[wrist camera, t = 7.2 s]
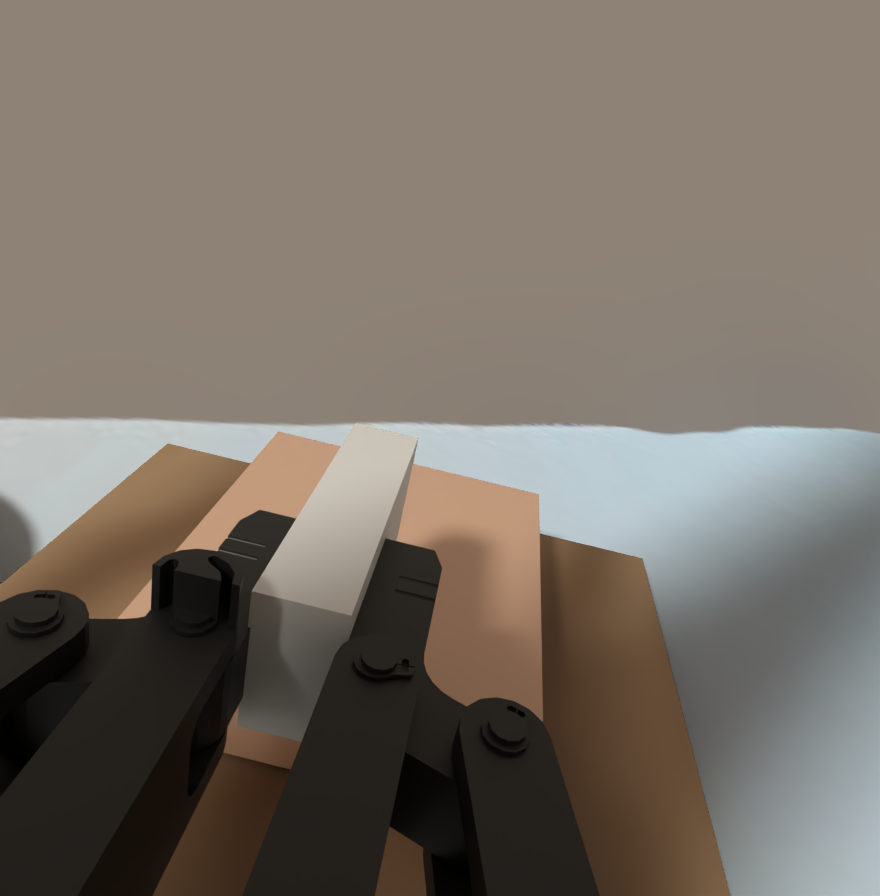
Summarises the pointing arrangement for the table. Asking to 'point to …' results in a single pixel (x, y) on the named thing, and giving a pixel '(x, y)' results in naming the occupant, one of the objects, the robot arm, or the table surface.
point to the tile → (460, 587)
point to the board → (563, 685)
